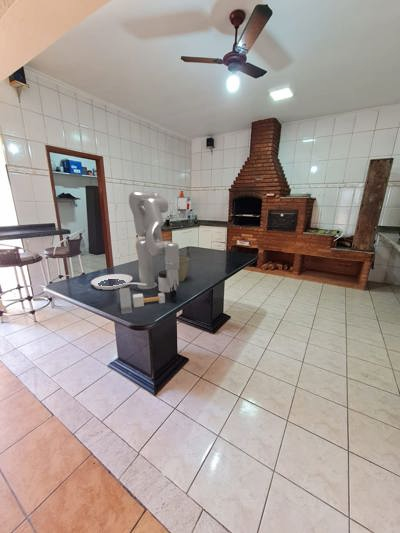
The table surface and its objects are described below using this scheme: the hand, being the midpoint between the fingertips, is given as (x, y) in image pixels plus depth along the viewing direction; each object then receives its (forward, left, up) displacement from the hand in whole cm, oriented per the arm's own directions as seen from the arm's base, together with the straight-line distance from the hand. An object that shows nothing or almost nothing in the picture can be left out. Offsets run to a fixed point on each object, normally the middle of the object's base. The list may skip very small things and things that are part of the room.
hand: (173, 297), depth 125 cm
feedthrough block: (0, -26, -2) cm, 26 cm away
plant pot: (-33, +12, -2) cm, 35 cm away
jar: (-17, -1, -2) cm, 17 cm away
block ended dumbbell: (0, -13, -2) cm, 14 cm away
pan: (-33, -27, -3) cm, 42 cm away
